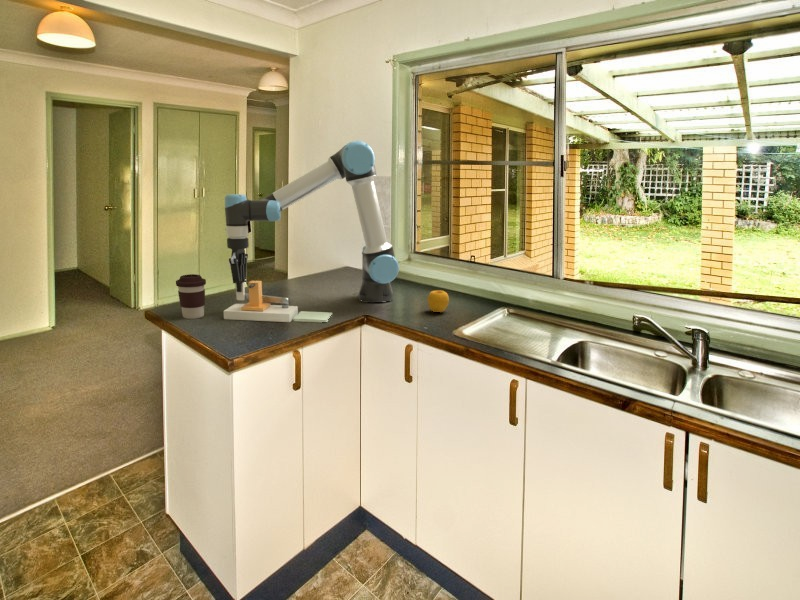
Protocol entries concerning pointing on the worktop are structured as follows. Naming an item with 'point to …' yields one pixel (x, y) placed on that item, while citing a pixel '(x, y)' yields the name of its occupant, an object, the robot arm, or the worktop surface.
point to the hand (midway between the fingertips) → (240, 299)
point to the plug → (255, 297)
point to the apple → (438, 301)
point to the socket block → (262, 313)
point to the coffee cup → (191, 295)
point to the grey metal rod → (272, 299)
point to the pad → (312, 316)
